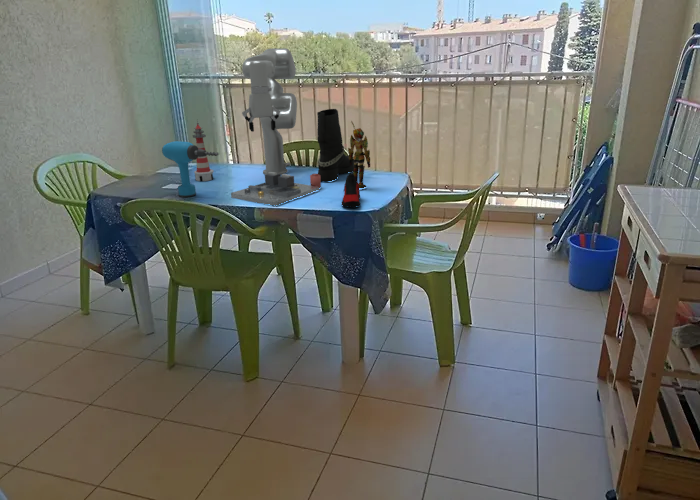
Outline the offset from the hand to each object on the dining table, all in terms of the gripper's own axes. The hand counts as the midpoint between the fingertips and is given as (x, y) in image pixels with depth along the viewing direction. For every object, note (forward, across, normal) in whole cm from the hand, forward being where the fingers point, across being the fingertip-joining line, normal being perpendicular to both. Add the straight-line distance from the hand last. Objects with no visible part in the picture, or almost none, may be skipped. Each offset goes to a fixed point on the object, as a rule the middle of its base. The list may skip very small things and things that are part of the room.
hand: (262, 130), depth 230 cm
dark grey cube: (+23, -1, +8) cm, 24 cm away
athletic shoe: (+26, -22, +47) cm, 58 cm away
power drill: (+26, +33, +5) cm, 42 cm away
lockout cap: (+25, -18, +18) cm, 35 cm away
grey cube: (+23, -5, +15) cm, 28 cm away
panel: (+25, +1, +18) cm, 31 cm away
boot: (+25, -36, -2) cm, 44 cm away
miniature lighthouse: (+25, +24, -26) cm, 43 cm away
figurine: (+25, -35, +27) cm, 51 cm away
